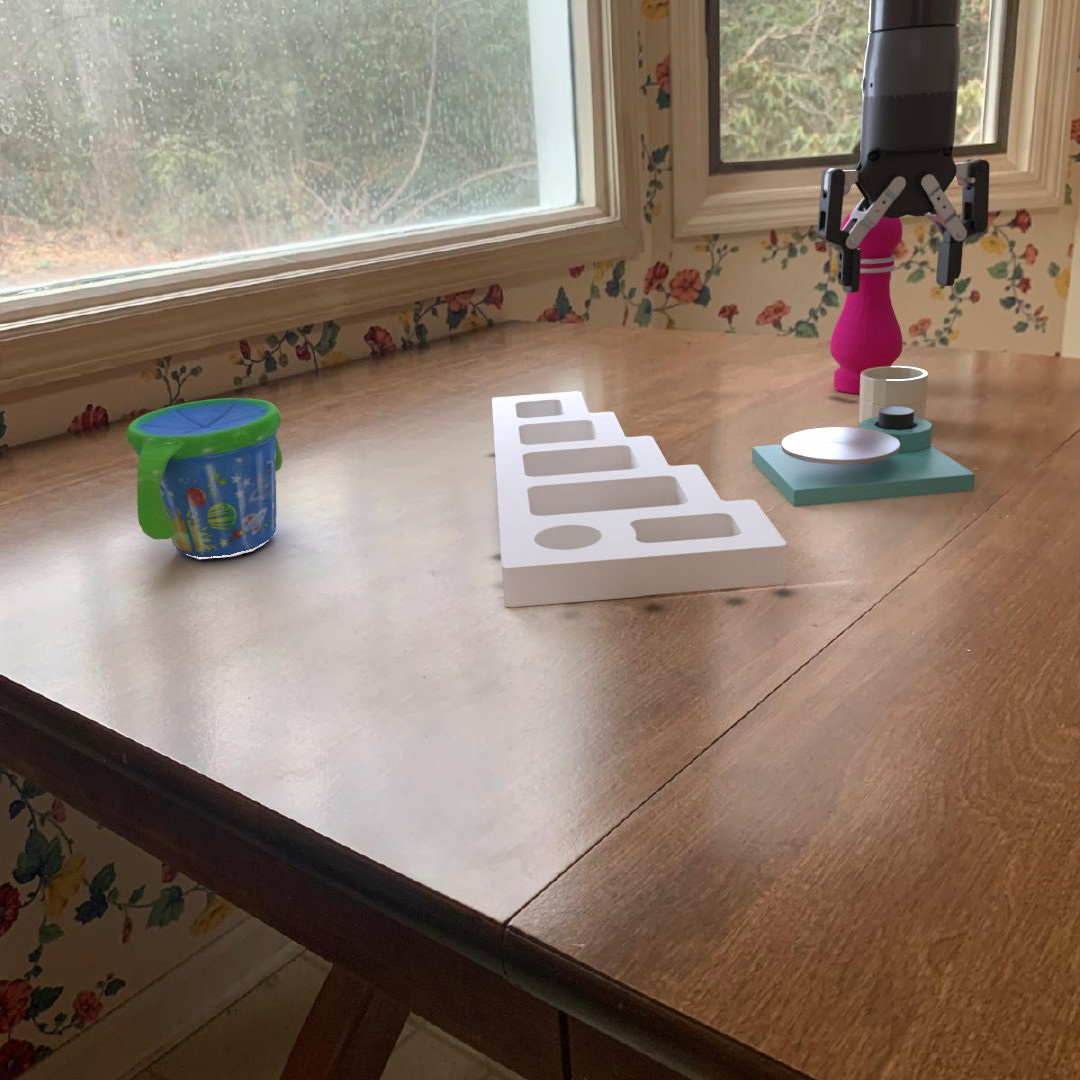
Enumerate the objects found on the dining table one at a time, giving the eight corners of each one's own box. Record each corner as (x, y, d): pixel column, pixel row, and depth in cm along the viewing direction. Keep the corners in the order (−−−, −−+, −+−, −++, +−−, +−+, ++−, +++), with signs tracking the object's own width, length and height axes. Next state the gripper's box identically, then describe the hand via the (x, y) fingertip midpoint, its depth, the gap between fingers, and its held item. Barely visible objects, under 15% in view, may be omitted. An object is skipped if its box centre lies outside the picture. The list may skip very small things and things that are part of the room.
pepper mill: (915, 386, 114) (927, 186, 107) (868, 399, 110) (877, 192, 103) (860, 376, 120) (868, 185, 112) (814, 388, 116) (819, 192, 109)
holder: (493, 423, 111) (491, 397, 110) (669, 410, 111) (669, 384, 110) (505, 607, 69) (501, 568, 68) (787, 584, 69) (788, 545, 68)
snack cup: (216, 593, 74) (188, 449, 70) (98, 578, 78) (66, 441, 74) (341, 515, 87) (324, 391, 84) (235, 506, 91) (214, 387, 88)
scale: (913, 446, 95) (915, 413, 93) (978, 490, 83) (981, 453, 82) (750, 460, 94) (750, 427, 93) (793, 507, 82) (794, 469, 81)
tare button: (905, 422, 92) (906, 405, 92) (918, 431, 90) (919, 413, 89) (873, 425, 92) (873, 407, 91) (885, 434, 89) (886, 416, 89)
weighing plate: (874, 427, 90) (874, 423, 90) (918, 458, 82) (919, 453, 82) (767, 437, 90) (767, 432, 89) (801, 469, 81) (801, 464, 81)
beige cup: (909, 416, 104) (912, 364, 102) (934, 431, 98) (938, 377, 96) (849, 421, 103) (851, 369, 102) (872, 437, 98) (874, 382, 96)
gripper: (841, 93, 86) (833, 300, 92) (1015, 83, 87) (996, 288, 93) (811, 96, 93) (805, 288, 99) (972, 86, 94) (957, 277, 100)
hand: (898, 288), depth 96 cm, fingers open, 8 cm apart
